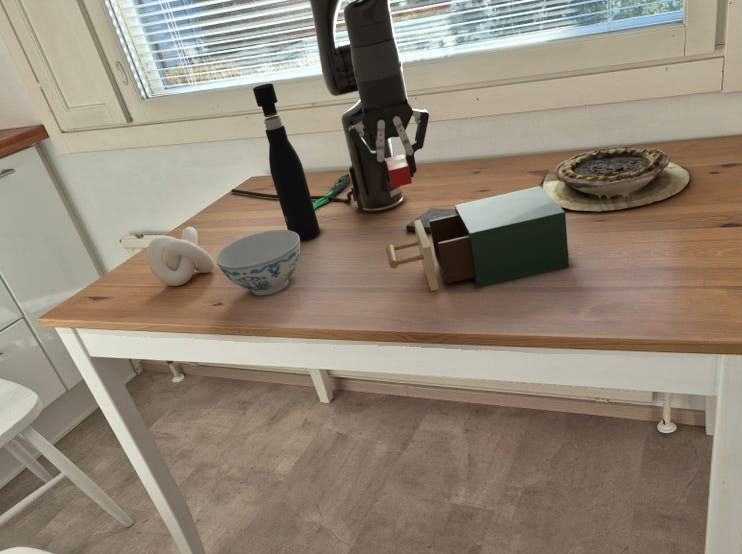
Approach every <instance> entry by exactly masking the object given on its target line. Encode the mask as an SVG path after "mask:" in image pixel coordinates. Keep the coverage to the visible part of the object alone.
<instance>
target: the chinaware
mask: <svg viewBox="0 0 742 554" xmlns="http://www.w3.org/2000/svg"><path fill="white" fill-rule="evenodd" d="M300 257H301V242H300V238H299V235H298V234H297V233H295V232H293V231H288V229H274V230H267V231H263V232H257V233H254V234H250V235H247V236H245V237H242V238H239V239H237V240H235V241H233V242H231V243H229V244H228V245H226V246H225V247H223V248H222V249H221V250H220V251H219V252H218V253H217V254H216V256H215V262H216V264H217V266H218V267H219V269H220V270H221V272H222V273H223V274H224V275H225V276H226V278H228V279H229V280H230V281H231V282H232V283H234V284H235V285H236V286H239V287H241V288H242V289H246V290H250V291H251V292H252V293H253V295H257V296H267V295H268V296H269V295H272V294H275V293H278V292H280V291H281V290H283V289H285V288H286V287H287V286H288V285H289V279H290V277H291V276H292V275H293V274H294V272H295V271H296V269H297V267H298V264H299V261H300Z"/></svg>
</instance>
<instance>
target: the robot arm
mask: <svg viewBox="0 0 742 554" xmlns="http://www.w3.org/2000/svg"><path fill="white" fill-rule="evenodd" d="M342 2H343V0H309V5H310V8H311V13H312V19H313V26H314V30H315V36H316V37H315V39H316V44H317V50H318V57H319V62H320V68H321V73H322V78H323V81H324V85H325V87H326V89H327V91H328V92H329V94H330V95H331V96H333V97H339V96H344V95H349V94H352V93H356V92H358V96H359V100H358V101H357V102H356V104H354V105H353V106H352V107H351V108H349V109H348V110H346V111H345V112H344V113H343V114H342V115H341V121H340V122H341V125H342V130H343V133H344V139H345V143H346V146H347V151H348V155H349V160H350V163H351V165H350V166H349V168H348V171H349V177H350V181H351V184H352V186H351V187H350V190H349V192H348V193H346V194H347V195H346V199H344V198H339V197H335V196H334V197H332V196H325V195H311V199H312V200H318V199H320V198H324V197H329V199H330V200H329V201H334V202H337V203H338V202H339V203H350V202H351V201H352V200H353V202H356V205H357V210H358V211H360V212H361V211H363V212H365V213H366V212H367V213H377V212H378V213H379V212H383V211H387V210H391V209H393V208H395V207H398V206H399V205H401V204H402V203H403V202H404V196H403V194H402V193H403V192H402V188H401V186H399V187H394V188H392V186H391V183H390V178H389V173H388V168H387V162H386V158H389V157H394V156H395V153H394V149H393V144H392V138H399V139H400V141H401V143H402V146H403V148H404V151H405V153H404V156H405V158H406V161H407V163H408V165H409V169H410V175H411V178H414V176H415V175H414V174H415V173H417V170H418V169H417V164H416V158H415V153H416V152H417V151H418V150H422V149H423V148H424V144H425V140H426V139H425V138H426V134H427V130H428V129H427V128H428V124H429V119H430V113H429V112H428V111H427V110H426V109H425V108H423V109H415V108H413V107H412V105H411V104H410V103H409V99H408V93H407V88H406V87H407V86H406V82H405V76H404V72H403V62H402V59H401V55H400V50H399V47H398V44H397V40H396V36H395V35H396V34H395V29H394V26H393V19H392V13H391V6H390V5H391V4H390V0H353V1H350V2H349V3H347V4H346V5H345V6H344V8H343V18H344V19H343V20H344V24H345V28H346V32H347V37H348V41H343V42H339V43H336V26H337V18H338V14H339V10H340V7H341V4H342ZM412 117H413V118H414V122H415V124H416V125H417V126H416V130H415V137H414V140H413V141H412V142H411V140H410V139H409V137H408V133H407V132H406V130H407V128H408V127H409V124H410V122H411V119H412ZM230 190H231V193H234V194H235V193H236V194H242V195H248V196H254V197H261V198H268V199H269V198H270V199H278V195H277V194H273V193H272V194H271V193H262V192H255V191H249V190H242V189H236V188H235V189H234V188H232V189H230Z"/></svg>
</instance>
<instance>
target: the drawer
mask: <svg viewBox="0 0 742 554" xmlns="http://www.w3.org/2000/svg"><path fill="white" fill-rule="evenodd" d="M412 221H413V222H414V227H415V231H414V232H415V236H416V237H415V238H416V241H411V242H407V243H403V244H398V245H393V244H387V246H386V247H385V251H386V255H387V261H388V265H389V268H390V269H392V270H393V269H394V270H395V269H397V268H398V267H399V265H404V264H409V263H414V262H418V261H421V265H422V267H423V271H424V273H425V277H426V280H427V283H428V285H429V289H430V291H431V292H432V291H437V290H439V284H438V278H437V273H436V268H435V262H434V258H433V257H435V260H436V262H437V264H438V268H439V271H440V272H441V275H442V278H443V280H444V283H445V284H451V283H455V282H460V281H464V280H468V279H474V278H473V277H476V275H475V269H474V262H473V256H472V249H471V242H470V236H469V234H468V232H467V231H466V229H465V227H464V225H463V223H462V221H461V219H460V218H459V216H458V214H455V215H451V216H446V217H442V218H437V219H433V220H429V224H430V230H431V232H430V234H431V241H432V246H433V250H434V256H433V251H432V246H431V243H430V240H429V238H428V236H427V232H425V230H424V228H423V225H422V223H421V220H416V221H414V220H412ZM413 247H418V252H419V254H418V255H414V256H410V257H406V258H400V259H398V257H397V254H396V253H397V252H396V251H399V250H404V249H409V248H413Z"/></svg>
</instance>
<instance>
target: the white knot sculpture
mask: <svg viewBox="0 0 742 554" xmlns="http://www.w3.org/2000/svg"><path fill="white" fill-rule="evenodd" d="M198 241H199V233H198V231H197V228H195V227H193V226H187V227H184V228H183V230H182V233H181V237H180V238H176V237H174V236H169V235H159V236H155V237H154V238H153V239H152V240H151V241H150V242H149V243H148V246H147V248H146V261H147V265H148V268H149V269H150V271H151V272H152V274H153V275H154V277H155V278H157V279H158V280H159V281H160V282H162V283H164V284H166V285H168V286H171V287H179V286H183V285H185V284H186V283H188V282H189V281H190V280H191V278H192V277H193V275H194V272H195V271H196V272H199V273H202V274H207V273H210V272H212V271H213V270H214V268H215V261H214V259H213V258H212V256H211V255H210V253H209V252H207V251H206V250H205V249H204V248H202V247H201V246H199V245H198Z"/></svg>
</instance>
